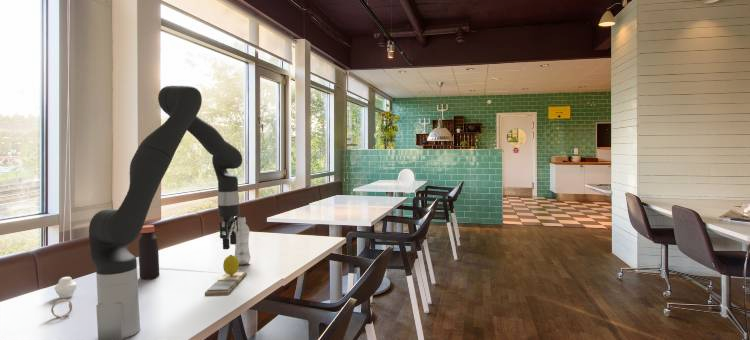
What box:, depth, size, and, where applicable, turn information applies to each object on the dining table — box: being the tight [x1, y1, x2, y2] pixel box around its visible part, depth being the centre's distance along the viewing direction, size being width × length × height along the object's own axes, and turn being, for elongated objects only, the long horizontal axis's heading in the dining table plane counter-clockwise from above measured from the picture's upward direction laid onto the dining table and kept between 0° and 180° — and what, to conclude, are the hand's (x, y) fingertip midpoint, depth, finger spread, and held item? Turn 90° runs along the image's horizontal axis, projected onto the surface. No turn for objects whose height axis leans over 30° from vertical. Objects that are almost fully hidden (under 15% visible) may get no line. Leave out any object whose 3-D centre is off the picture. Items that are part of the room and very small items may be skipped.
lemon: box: [222, 254, 240, 276], centre depth 156 cm, size 6×6×8 cm
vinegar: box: [137, 224, 160, 280], centre depth 162 cm, size 7×7×20 cm
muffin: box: [54, 276, 78, 299], centre depth 142 cm, size 6×6×7 cm
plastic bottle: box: [233, 216, 251, 266], centre depth 177 cm, size 6×7×20 cm
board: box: [204, 271, 247, 296], centre depth 151 cm, size 22×8×2 cm, turn 2°
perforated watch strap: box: [50, 298, 73, 318], centre depth 124 cm, size 3×5×5 cm, turn 138°
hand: (229, 246), depth 155 cm, fingers open, 8 cm apart
